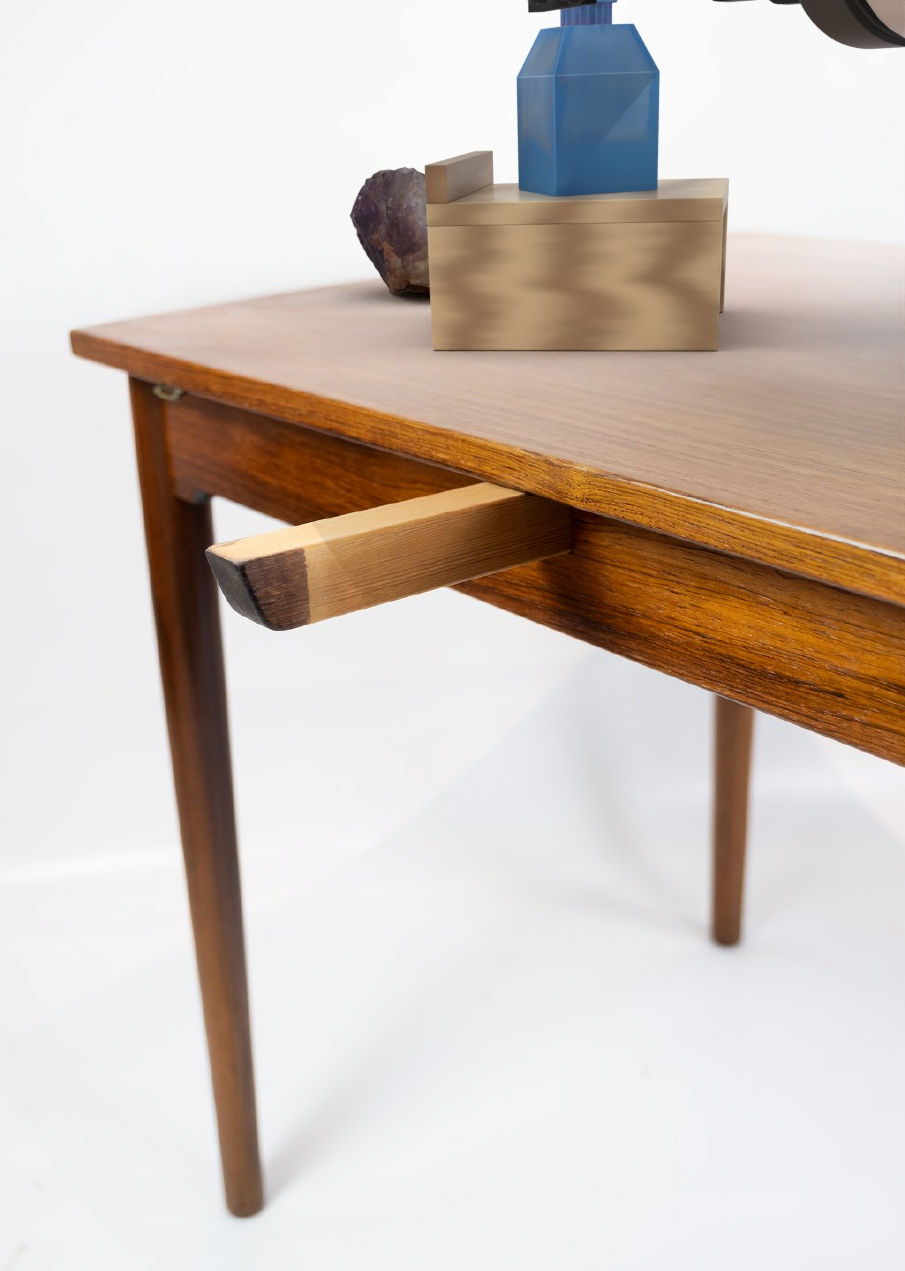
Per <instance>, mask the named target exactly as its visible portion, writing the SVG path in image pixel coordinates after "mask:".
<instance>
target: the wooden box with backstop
mask: <svg viewBox="0 0 905 1271" xmlns="http://www.w3.org/2000/svg"><path fill="white" fill-rule="evenodd" d="M424 174H425V187H426V203H427V205H426V208H427V226H428V227H427V232H428V255H429V278H430V293H429V296H430V298H429V300H430V321H431V343H432V346H431V347H432V350H433V351H716V352H717V351H718V349H719V332H720V331H719V330H720V313H723V312H724V310H725V295H726V294H725V292H726V268H727V243H728V242H727V240H728V215H729V194H730V193H729V192H730V190H729V189H730V178H729V177H710V178H709V177H707V178H705V177H704V178H703V177H702V178H701V177H700V178H669V179H668V178H667V179H665V178H664V179H658V190H644V191H629V192H614V193H599V194H583V195H568V196H551V195H545V194H539V193H534V192H528V191H522V190H519V182H511V183H510V182H509V183H508V182H507V183H505V182H504V183H494V181H495V180H494V151H493V150H474V151H471V152H470V151H469V152H467V153H464V154H463V153H462V154H459V155H456V156H452V157H449V158H445V159H443V160H439V161H435V162H431V163H428V164H425V165H424Z"/></svg>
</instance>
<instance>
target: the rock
mask: <svg viewBox="0 0 905 1271" xmlns="http://www.w3.org/2000/svg"><path fill="white" fill-rule="evenodd" d="M426 205H427V203H426V187H425V173H423V172H421V171H418V170H417V169H416V168H415V167H410V168H408V167H407V166H403V167H399V168H397V169H389V168H387V169H381V170H378V171H376V172H375V173H373V174H371V177H367V178H365V181H364V183H363V185H362V186H361V187H360V190H359V191H358V193H357V195H356V197H355V200H354V202H353V204H352V208H351V211H350V214H349V218H350V219H351V223H352V225H353V227H354V229H355V230H356V238H357V240H358V241H359V244H360V246H361V247H362V248H361V249H362V250H363V251H364V252H365V256H367V258H368V259H369V260H370V262H371V263H372V264H373V267H374V269H375V270H376V271H377V273H378V274H379V276H380V278H381V280H382V281H383V283H384V284H385V285H386V287H387V288H388V291H389V293H390V294H391V295H397V294H399V293H402V292H406V291H411V292H414V293H424V294H425V293H426V294H430V278H429V255H428V232H427V227H428V226H427V208H426Z"/></svg>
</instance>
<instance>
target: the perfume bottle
mask: <svg viewBox="0 0 905 1271" xmlns="http://www.w3.org/2000/svg"><path fill="white" fill-rule="evenodd" d="M614 3H615V4H616V3H618V0H597V4H591V5H585V6H579V7H572V8H566V9H560V10H559V12H560V16H559V19H560V20H559V22H560V23H559V25H560V26H554V27H547V28H540V29H539V31H538V33H537V35H536V37H535V39H534V41H533V44H532V45H531V48H530V50H529V51H528V53H527V55H526V58H525V60H524V61H523V64H522V66H521V67H520V70H519V72H518V74H517V75H516V117H517V118H516V120H517V121H516V122H517V125H516V126H517V127H516V128H517V177H518V178H517V179H518V182H517V183H519V190H522V191H528V192H534V193H539V194H545V195H551V196H568V195H583V194H599V193H614V192H629V191H644V190H658V180H659V138H660V137H659V131H660V130H659V128H660V86H661V85H660V80H661V79H660V78H661V71H660V69H659V67H658V64H656V62H655V60H654V58H653V56H652V54H651V53H650V50H649V49H648V47H647V45H646V44H645V42H644V40H643V38H642V36H641V34H640V33H639V31H638V29H637V26H636V25H635V23H613V4H614Z"/></svg>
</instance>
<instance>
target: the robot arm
mask: <svg viewBox="0 0 905 1271" xmlns="http://www.w3.org/2000/svg"><path fill="white" fill-rule="evenodd" d="M711 1H712V2H716V3H717V2H718V3H738V2H751V1H753V2H754V1H755V0H711ZM768 1H769V2H770V3H772V4H774V5H783V6H793V5H794V6H795V5H800V6H801V7H802V9H803V11H804V13H805V15H806V16H807V17H808V18H809V19H810V21H811V22H812V23H813V24H814V25H815V26H816V28H817V29H818V30H820V31H821V32H822V33H823V34H824V35H826V36H827V37H828V38H829V39H831V40H833V41H834V42H837V43H839V44H841V45H844V46H847V47H850V48H854V49H860V50H881V49H899V48H905V0H768ZM591 4H597V0H527V13H528V14H530V13H546V12H547V13H548V12H552V11H560V9H566V8H572V7H579V6H585V5H591Z"/></svg>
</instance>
